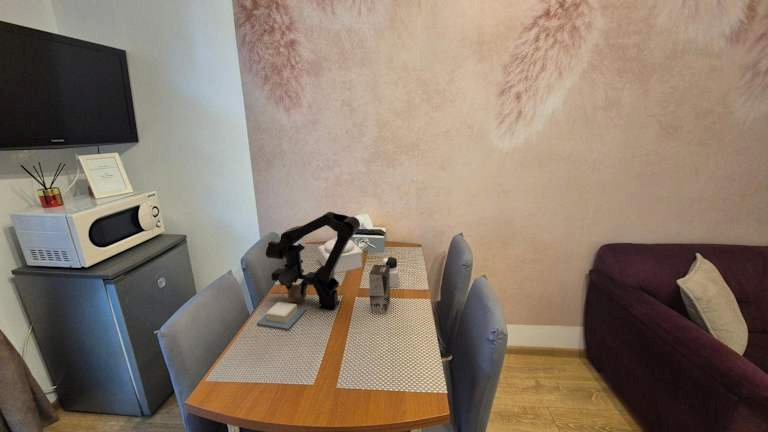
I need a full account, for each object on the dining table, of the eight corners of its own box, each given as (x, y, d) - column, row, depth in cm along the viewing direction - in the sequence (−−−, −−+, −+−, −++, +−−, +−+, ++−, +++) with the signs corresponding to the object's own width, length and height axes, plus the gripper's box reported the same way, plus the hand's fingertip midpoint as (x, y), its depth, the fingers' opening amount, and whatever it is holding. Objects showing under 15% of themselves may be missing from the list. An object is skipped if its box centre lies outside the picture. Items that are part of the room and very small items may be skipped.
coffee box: (386, 314, 123) (385, 275, 119) (369, 312, 125) (368, 274, 120) (390, 301, 132) (390, 264, 127) (375, 299, 133) (374, 263, 129)
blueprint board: (306, 310, 127) (305, 301, 126) (288, 331, 115) (287, 321, 114) (277, 306, 130) (276, 297, 129) (256, 325, 118) (255, 315, 117)
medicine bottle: (398, 279, 149) (398, 255, 146) (397, 287, 142) (397, 262, 139) (383, 279, 150) (382, 255, 146) (381, 287, 143) (380, 262, 140)
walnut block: (306, 296, 135) (305, 285, 134) (300, 302, 130) (298, 291, 129) (295, 294, 136) (294, 284, 135) (288, 301, 132) (287, 290, 130)
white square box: (319, 261, 170) (316, 232, 166) (351, 255, 178) (350, 227, 173) (328, 275, 155) (325, 244, 151) (363, 268, 162) (362, 237, 158)
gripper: (260, 266, 123) (265, 302, 128) (304, 271, 118) (308, 309, 123) (277, 254, 134) (281, 288, 138) (318, 259, 129) (321, 294, 133)
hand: (297, 295), depth 133 cm, fingers closed on walnut block, 5 cm apart
